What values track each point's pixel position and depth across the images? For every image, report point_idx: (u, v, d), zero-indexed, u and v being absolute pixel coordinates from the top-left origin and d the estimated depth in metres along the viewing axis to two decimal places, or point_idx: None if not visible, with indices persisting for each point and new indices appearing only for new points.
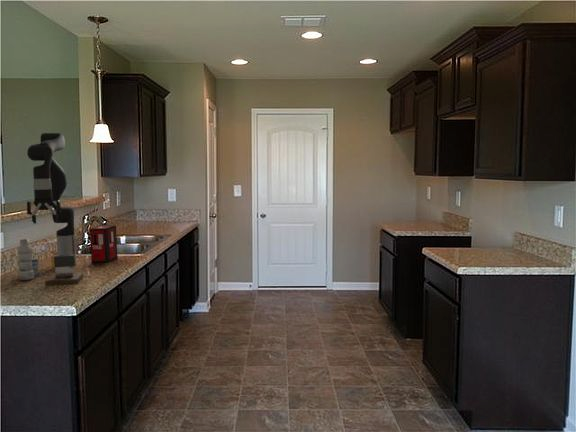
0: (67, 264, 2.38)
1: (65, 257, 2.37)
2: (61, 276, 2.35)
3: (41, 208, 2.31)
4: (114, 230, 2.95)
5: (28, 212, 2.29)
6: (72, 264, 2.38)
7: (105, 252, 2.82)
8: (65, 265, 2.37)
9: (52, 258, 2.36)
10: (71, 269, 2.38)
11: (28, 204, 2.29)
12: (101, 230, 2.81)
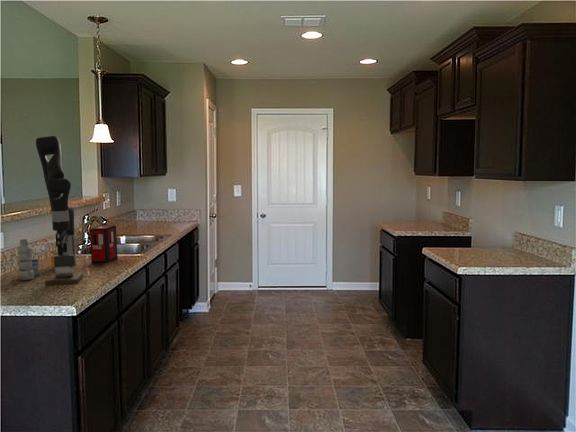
0: (67, 264, 2.38)
1: (65, 257, 2.37)
2: (61, 276, 2.35)
3: None
4: (114, 230, 2.95)
5: (61, 244, 2.32)
6: (72, 264, 2.38)
7: (105, 252, 2.82)
8: (65, 265, 2.37)
9: (52, 258, 2.36)
10: (71, 269, 2.38)
11: (61, 236, 2.32)
12: (101, 230, 2.81)
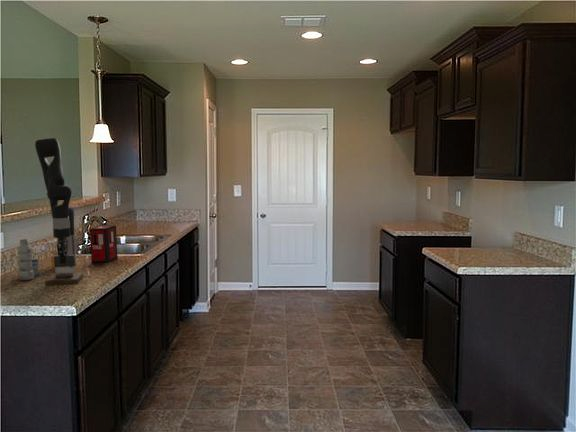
0: (67, 264, 2.38)
1: (65, 257, 2.37)
2: (61, 276, 2.35)
3: None
4: (114, 230, 2.95)
5: (63, 253, 2.34)
6: (72, 264, 2.38)
7: (105, 252, 2.82)
8: (65, 265, 2.37)
9: (52, 258, 2.36)
10: (71, 269, 2.38)
11: (62, 246, 2.33)
12: (101, 230, 2.81)
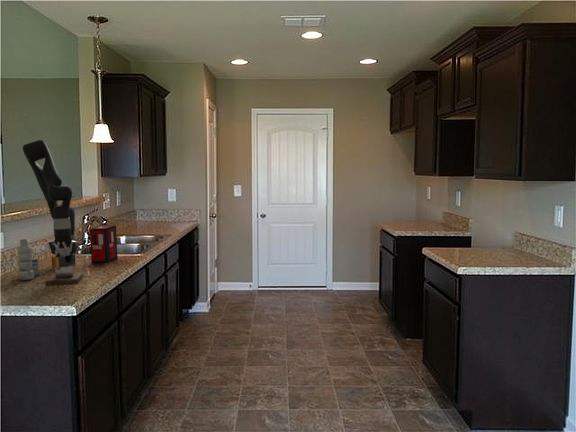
0: (69, 263, 2.40)
1: None
2: (68, 275, 2.37)
3: None
4: (114, 230, 2.95)
5: None
6: (73, 263, 2.42)
7: (105, 252, 2.82)
8: (68, 264, 2.39)
9: (57, 259, 2.34)
10: None
11: None
12: (101, 230, 2.81)
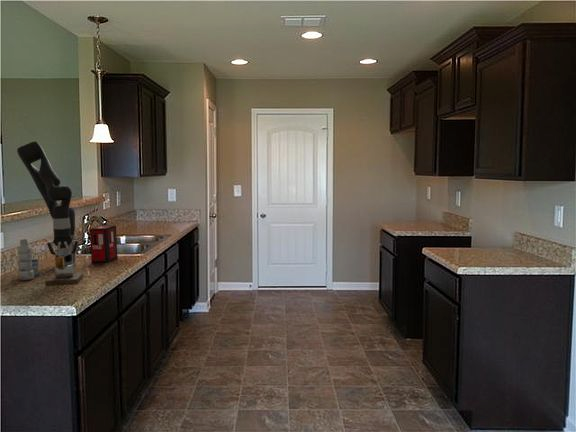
0: (69, 263, 2.41)
1: (68, 256, 2.40)
2: (72, 274, 2.39)
3: None
4: (114, 230, 2.95)
5: None
6: (71, 262, 2.43)
7: (105, 252, 2.82)
8: (68, 264, 2.40)
9: (63, 258, 2.34)
10: None
11: None
12: (101, 230, 2.81)
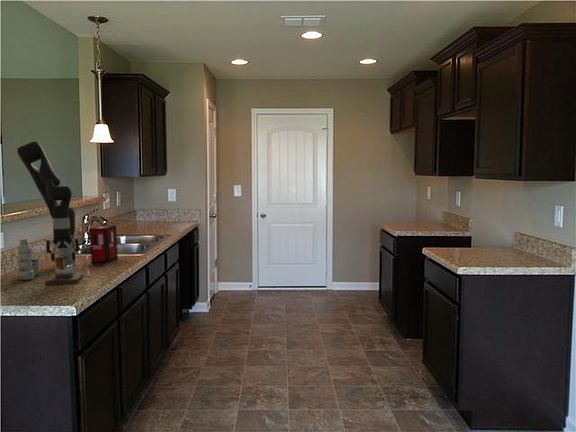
0: (69, 263, 2.41)
1: (68, 256, 2.40)
2: (72, 274, 2.39)
3: None
4: (114, 230, 2.95)
5: None
6: (71, 262, 2.43)
7: (105, 252, 2.82)
8: (68, 264, 2.40)
9: (63, 258, 2.34)
10: None
11: None
12: (101, 230, 2.81)
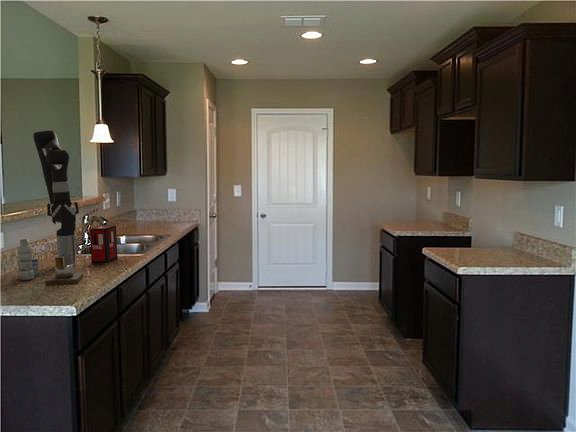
0: (69, 263, 2.41)
1: (68, 256, 2.40)
2: (72, 274, 2.39)
3: None
4: (114, 230, 2.95)
5: None
6: (71, 262, 2.43)
7: (105, 252, 2.82)
8: (68, 264, 2.40)
9: (63, 258, 2.34)
10: None
11: None
12: (101, 230, 2.81)
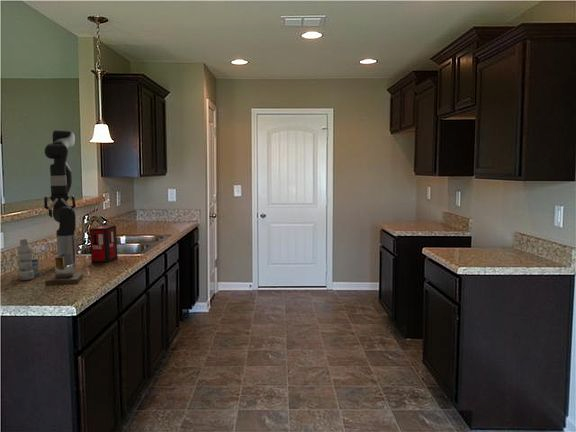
0: (69, 263, 2.41)
1: (68, 256, 2.40)
2: (72, 274, 2.39)
3: None
4: (114, 230, 2.95)
5: None
6: (71, 262, 2.43)
7: (105, 252, 2.82)
8: (68, 264, 2.40)
9: (63, 258, 2.34)
10: None
11: None
12: (101, 230, 2.81)
